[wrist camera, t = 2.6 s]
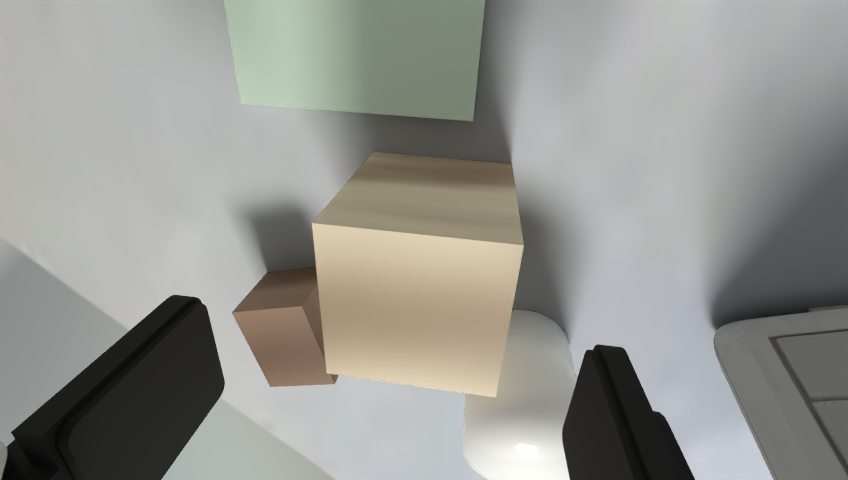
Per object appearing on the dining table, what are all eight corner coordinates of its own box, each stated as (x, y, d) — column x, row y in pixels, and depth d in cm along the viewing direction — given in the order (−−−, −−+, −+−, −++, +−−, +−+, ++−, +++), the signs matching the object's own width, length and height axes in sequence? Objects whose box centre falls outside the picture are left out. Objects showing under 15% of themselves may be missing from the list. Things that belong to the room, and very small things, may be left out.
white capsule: (473, 303, 18) (468, 397, 13) (578, 316, 17) (609, 418, 13) (464, 377, 20) (457, 478, 15) (557, 390, 19) (577, 498, 15)
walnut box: (268, 271, 18) (232, 312, 16) (329, 263, 18) (301, 306, 15) (298, 339, 20) (270, 386, 18) (355, 335, 20) (334, 383, 17)
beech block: (373, 151, 15) (311, 222, 10) (511, 163, 14) (523, 245, 9) (375, 266, 17) (326, 373, 12) (493, 280, 17) (495, 397, 12)
